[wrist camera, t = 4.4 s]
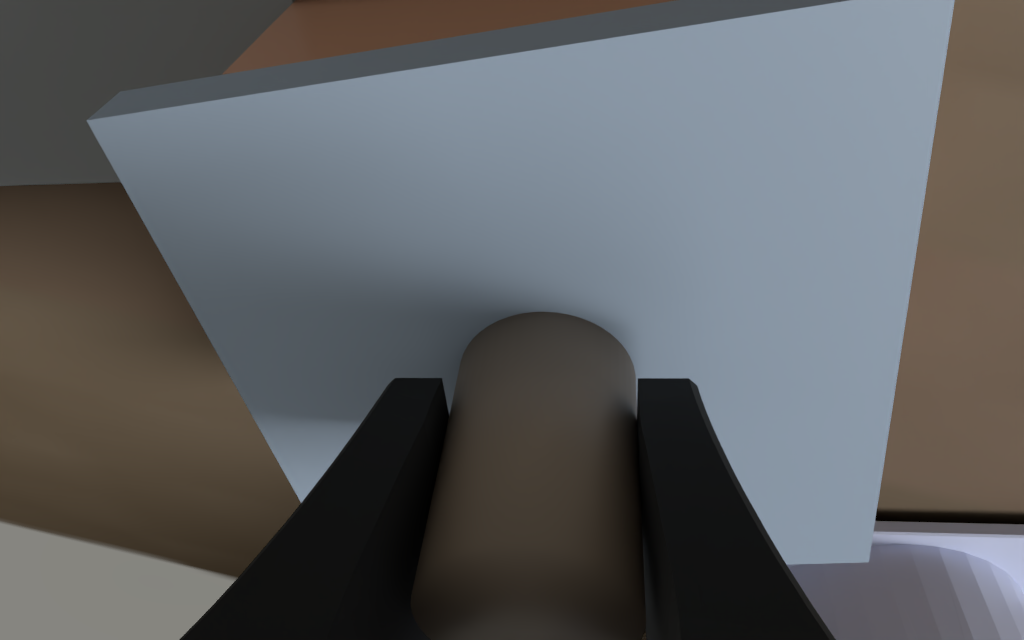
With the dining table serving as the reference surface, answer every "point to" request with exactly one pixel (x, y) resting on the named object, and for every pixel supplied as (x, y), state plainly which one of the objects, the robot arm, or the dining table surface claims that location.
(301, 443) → the lid
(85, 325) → the dining table surface
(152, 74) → the mat
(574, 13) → the orange open box
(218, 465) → the dining table surface
